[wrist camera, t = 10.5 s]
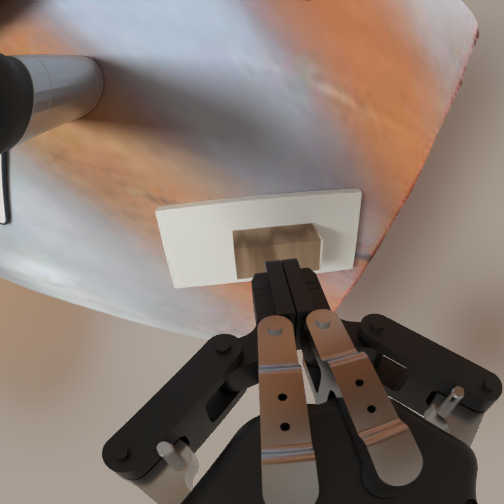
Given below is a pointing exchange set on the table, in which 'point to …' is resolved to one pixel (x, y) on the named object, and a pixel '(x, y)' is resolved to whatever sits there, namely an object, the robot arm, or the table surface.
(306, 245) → the walnut block
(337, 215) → the white board
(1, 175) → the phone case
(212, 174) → the table surface
